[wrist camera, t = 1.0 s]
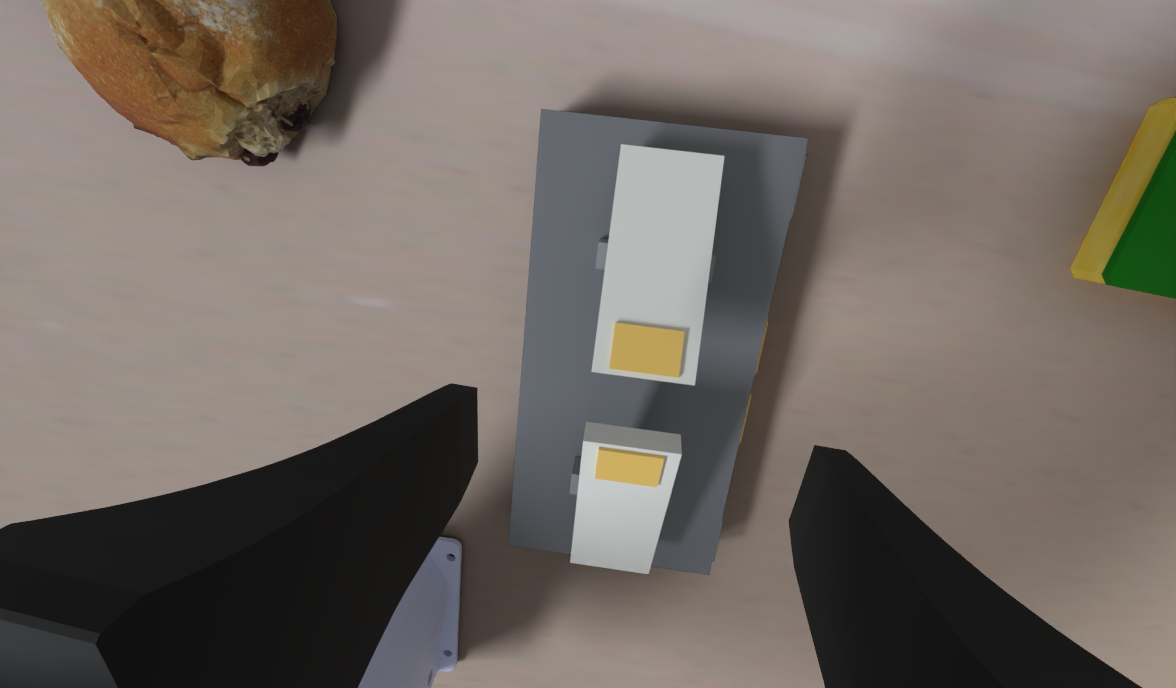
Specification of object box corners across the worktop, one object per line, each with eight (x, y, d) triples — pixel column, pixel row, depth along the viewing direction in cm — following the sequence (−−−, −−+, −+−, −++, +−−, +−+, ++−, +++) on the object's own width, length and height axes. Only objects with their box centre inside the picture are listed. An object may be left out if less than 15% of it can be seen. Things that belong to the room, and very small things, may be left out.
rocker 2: (648, 554, 24) (648, 577, 23) (572, 543, 24) (569, 565, 23) (680, 434, 19) (681, 457, 18) (586, 421, 19) (582, 443, 18)
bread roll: (382, -18, 24) (265, -235, 16) (353, 189, 22) (210, 65, 14) (182, -22, 24) (-26, -232, 16) (143, 180, 23) (-106, 56, 15)
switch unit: (706, 541, 27) (718, 599, 23) (518, 514, 28) (501, 567, 24) (792, 144, 21) (829, 135, 17) (551, 117, 21) (534, 102, 18)
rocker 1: (690, 383, 18) (695, 385, 17) (592, 370, 19) (591, 372, 17) (718, 166, 18) (725, 154, 17) (620, 154, 19) (621, 142, 17)
